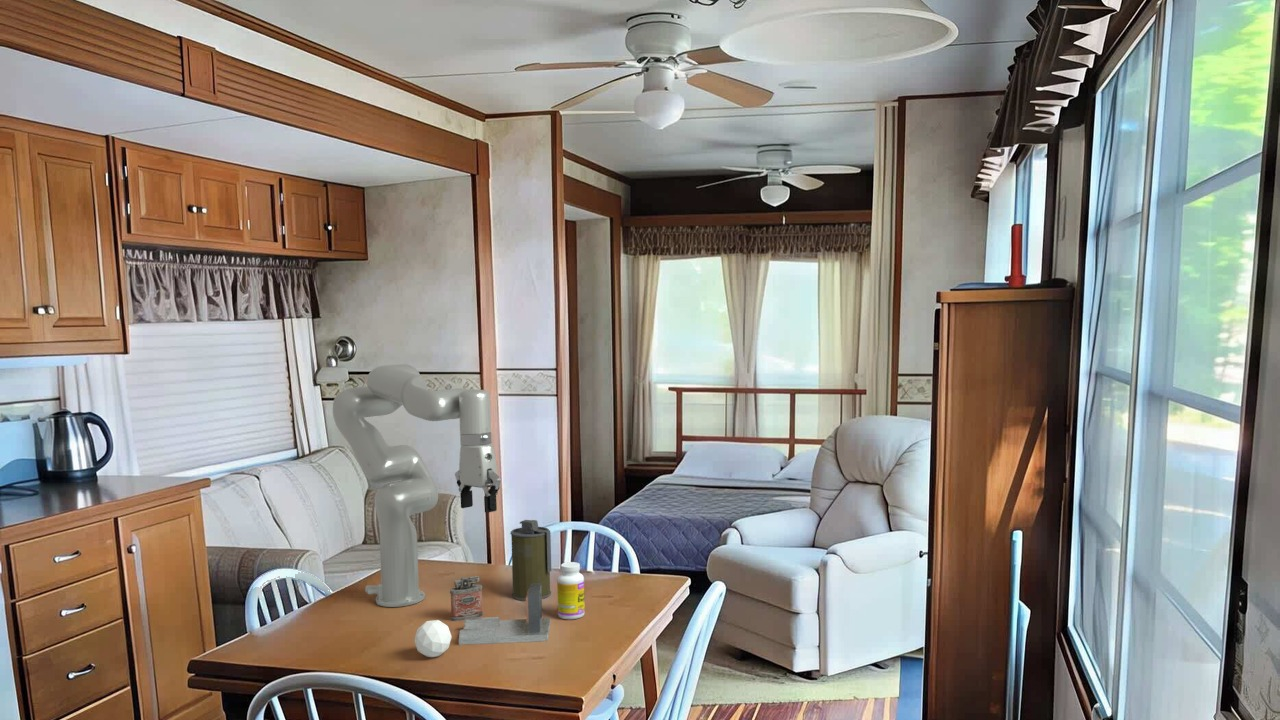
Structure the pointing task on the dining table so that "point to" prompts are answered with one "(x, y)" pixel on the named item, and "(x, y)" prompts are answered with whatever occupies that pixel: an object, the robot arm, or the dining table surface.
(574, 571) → the supplement bottle
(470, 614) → the lighter
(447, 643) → the geometric ball
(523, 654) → the dining table surface
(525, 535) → the canister
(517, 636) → the finger rail
